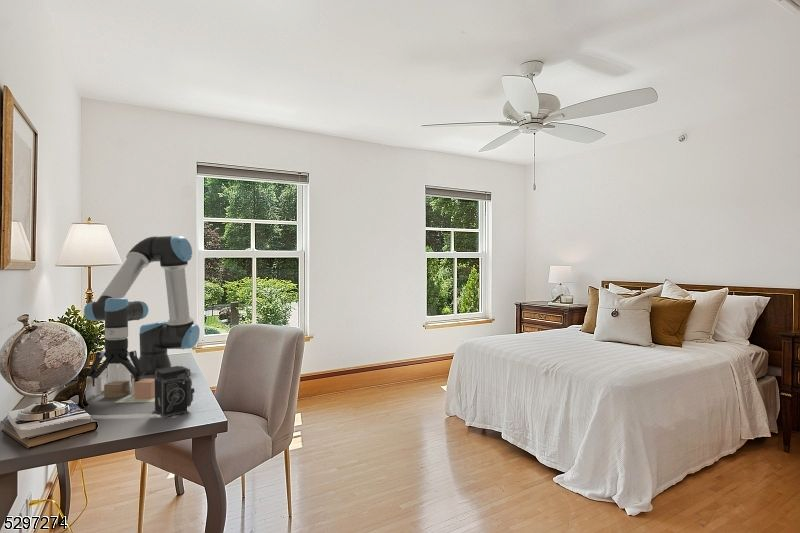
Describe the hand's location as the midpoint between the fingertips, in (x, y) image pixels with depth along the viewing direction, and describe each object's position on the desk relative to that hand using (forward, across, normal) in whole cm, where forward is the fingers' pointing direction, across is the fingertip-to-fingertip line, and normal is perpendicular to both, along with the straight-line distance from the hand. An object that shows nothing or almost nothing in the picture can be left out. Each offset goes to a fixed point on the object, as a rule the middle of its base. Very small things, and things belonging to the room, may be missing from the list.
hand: (116, 395), depth 172 cm
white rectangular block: (+1, -8, +14) cm, 16 cm away
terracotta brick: (0, +13, -3) cm, 13 cm away
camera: (+2, +31, -19) cm, 36 cm away
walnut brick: (+1, 0, 0) cm, 1 cm away
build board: (+1, +13, -3) cm, 13 cm away
